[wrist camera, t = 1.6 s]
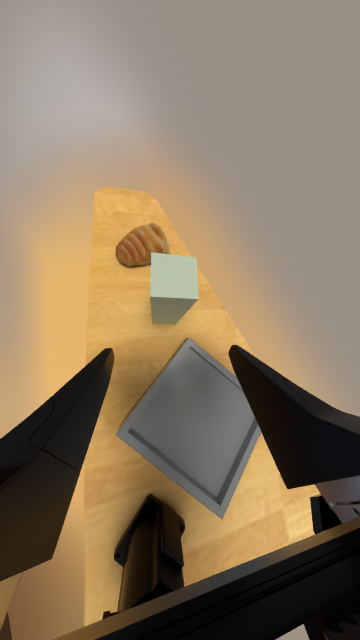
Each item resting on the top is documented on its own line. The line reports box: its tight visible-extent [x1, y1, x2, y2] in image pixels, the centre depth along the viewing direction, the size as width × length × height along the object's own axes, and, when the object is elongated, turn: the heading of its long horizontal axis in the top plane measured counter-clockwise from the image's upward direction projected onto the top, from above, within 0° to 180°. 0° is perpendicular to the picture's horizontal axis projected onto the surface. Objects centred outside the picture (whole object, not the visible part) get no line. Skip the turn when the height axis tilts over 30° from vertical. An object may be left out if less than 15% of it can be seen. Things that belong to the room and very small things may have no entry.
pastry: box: [116, 223, 169, 266], centre depth 23 cm, size 9×7×4 cm
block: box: [150, 252, 199, 324], centre depth 17 cm, size 4×4×12 cm
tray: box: [116, 338, 261, 519], centre depth 20 cm, size 16×18×2 cm
